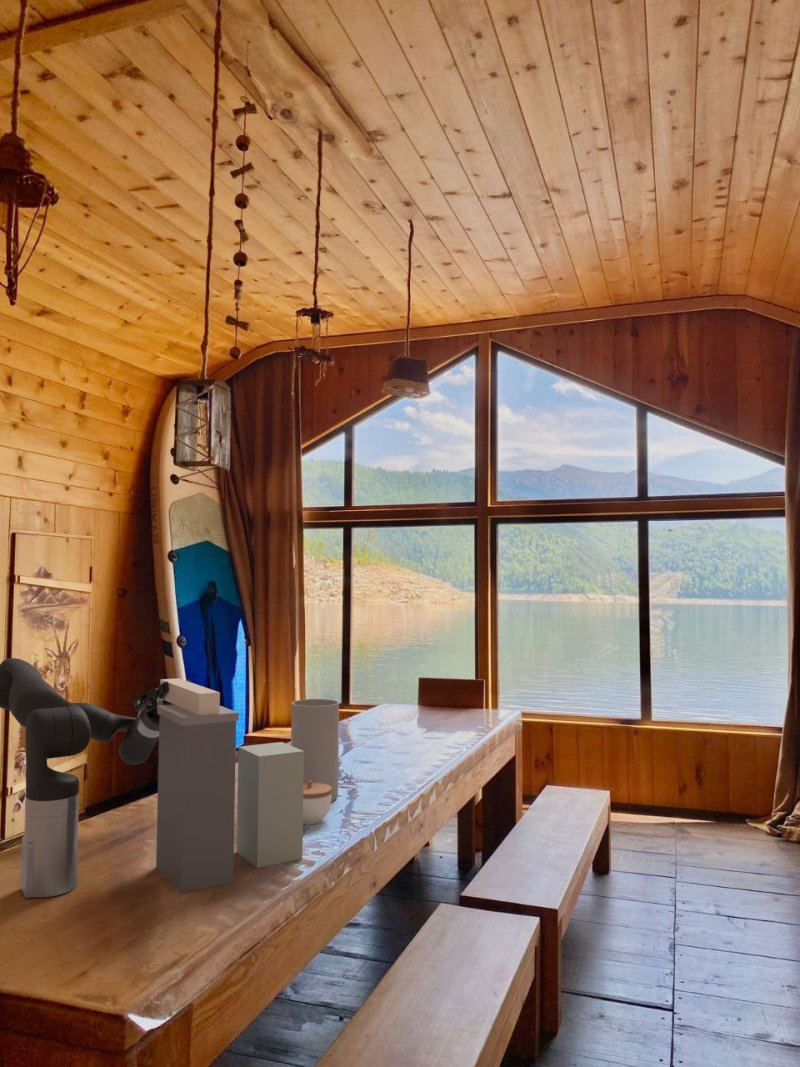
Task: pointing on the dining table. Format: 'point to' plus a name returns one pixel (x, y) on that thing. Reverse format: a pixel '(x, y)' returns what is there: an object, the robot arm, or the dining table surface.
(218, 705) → the cream block
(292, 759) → the sage-grey block
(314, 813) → the lidded jar
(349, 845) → the dining table surface
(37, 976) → the dining table surface
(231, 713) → the charcoal stand
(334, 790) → the cylinder vase
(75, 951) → the dining table surface
